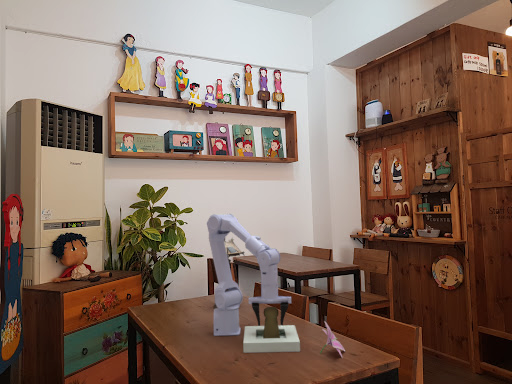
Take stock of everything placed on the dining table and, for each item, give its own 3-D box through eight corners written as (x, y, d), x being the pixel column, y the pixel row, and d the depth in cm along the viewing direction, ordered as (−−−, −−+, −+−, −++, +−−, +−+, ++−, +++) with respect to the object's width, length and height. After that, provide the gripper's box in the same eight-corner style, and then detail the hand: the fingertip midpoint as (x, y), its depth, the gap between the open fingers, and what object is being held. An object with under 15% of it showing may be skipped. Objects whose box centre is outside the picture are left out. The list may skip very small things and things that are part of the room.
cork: (279, 343, 129) (278, 309, 129) (261, 342, 130) (260, 309, 130) (281, 337, 134) (280, 305, 135) (264, 336, 135) (263, 305, 136)
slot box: (243, 352, 122) (243, 343, 122) (245, 334, 140) (245, 326, 140) (300, 351, 122) (299, 341, 122) (294, 333, 140) (294, 325, 140)
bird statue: (252, 310, 175) (250, 232, 177) (228, 315, 167) (226, 234, 169) (233, 303, 188) (231, 231, 190) (209, 307, 181) (208, 233, 183)
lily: (329, 367, 112) (343, 340, 112) (302, 344, 119) (315, 319, 119) (345, 367, 120) (358, 342, 120) (319, 345, 127) (331, 322, 127)
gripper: (248, 287, 128) (248, 328, 127) (291, 286, 128) (292, 327, 127) (248, 283, 135) (249, 322, 134) (289, 282, 135) (290, 321, 134)
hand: (270, 324), depth 131 cm, fingers open, 7 cm apart
